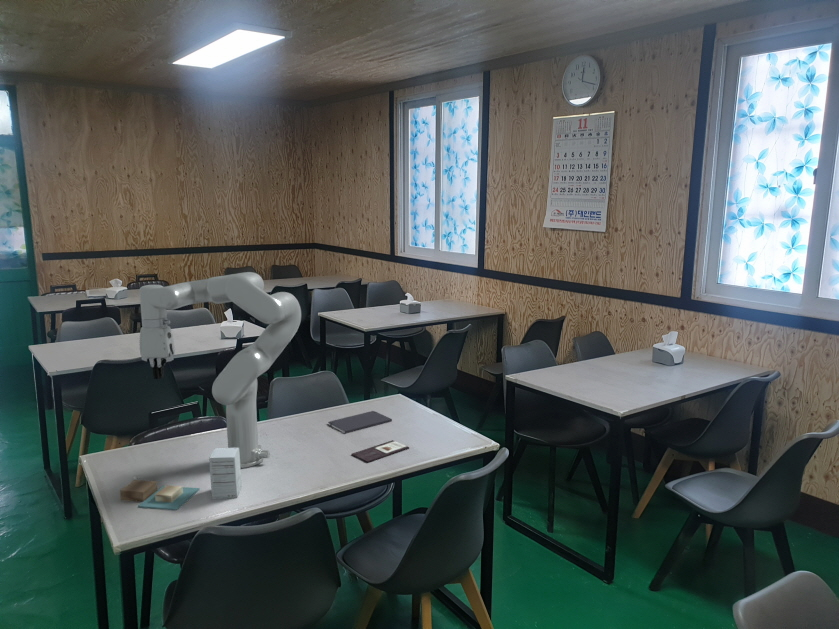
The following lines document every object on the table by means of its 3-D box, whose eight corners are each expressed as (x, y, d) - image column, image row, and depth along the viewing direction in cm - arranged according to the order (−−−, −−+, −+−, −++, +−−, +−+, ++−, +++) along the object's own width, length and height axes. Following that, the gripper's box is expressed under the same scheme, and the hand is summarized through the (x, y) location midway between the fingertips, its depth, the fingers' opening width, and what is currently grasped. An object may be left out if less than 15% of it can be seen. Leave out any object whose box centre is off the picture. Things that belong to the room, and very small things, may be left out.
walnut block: (157, 490, 187) (156, 481, 187) (143, 501, 180) (142, 492, 180) (135, 489, 188) (134, 479, 188) (121, 500, 181) (120, 490, 181)
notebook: (344, 435, 233) (392, 422, 246) (344, 431, 233) (391, 418, 246) (327, 425, 243) (373, 414, 256) (327, 421, 243) (373, 410, 255)
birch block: (166, 485, 185) (167, 491, 186) (155, 494, 180) (155, 501, 180) (182, 486, 185) (182, 492, 185) (171, 495, 179) (171, 502, 179)
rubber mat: (199, 489, 188) (199, 488, 188) (176, 510, 175) (176, 508, 175) (163, 486, 190) (163, 485, 190) (137, 507, 177) (137, 505, 177)
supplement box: (216, 488, 189) (214, 447, 187) (242, 487, 190) (240, 446, 187) (211, 499, 182) (208, 457, 180) (237, 498, 182) (235, 456, 180)
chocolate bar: (351, 453, 213) (392, 440, 225) (351, 456, 213) (392, 442, 225) (367, 461, 206) (409, 447, 218) (367, 464, 207) (409, 449, 219)
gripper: (182, 321, 208) (186, 375, 211) (140, 320, 210) (144, 374, 213) (169, 326, 200) (174, 382, 204) (126, 324, 203) (131, 380, 206)
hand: (159, 377), depth 208 cm, fingers closed
